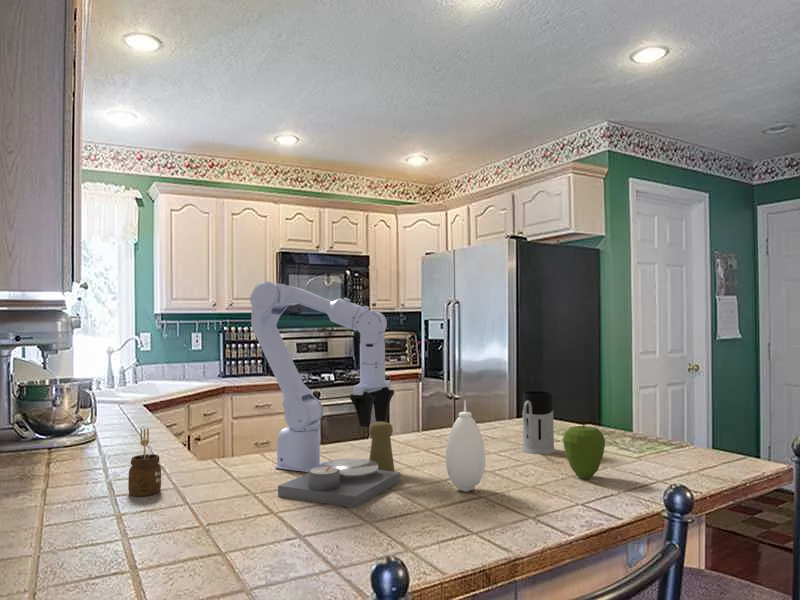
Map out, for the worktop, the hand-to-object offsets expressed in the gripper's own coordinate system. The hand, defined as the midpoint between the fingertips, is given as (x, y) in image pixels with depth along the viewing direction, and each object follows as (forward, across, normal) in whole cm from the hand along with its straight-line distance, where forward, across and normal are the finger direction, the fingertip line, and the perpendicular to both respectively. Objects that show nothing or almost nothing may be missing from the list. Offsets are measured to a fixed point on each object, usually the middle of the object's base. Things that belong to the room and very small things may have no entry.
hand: (372, 423), depth 132 cm
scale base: (+10, -16, -1) cm, 19 cm away
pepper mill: (+11, 0, -2) cm, 11 cm away
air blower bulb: (+11, -6, -24) cm, 27 cm away
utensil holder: (+10, -34, +33) cm, 49 cm away
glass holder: (+11, +34, -29) cm, 46 cm away
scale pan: (+8, -13, -1) cm, 15 cm away
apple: (+11, +14, -44) cm, 48 cm away
